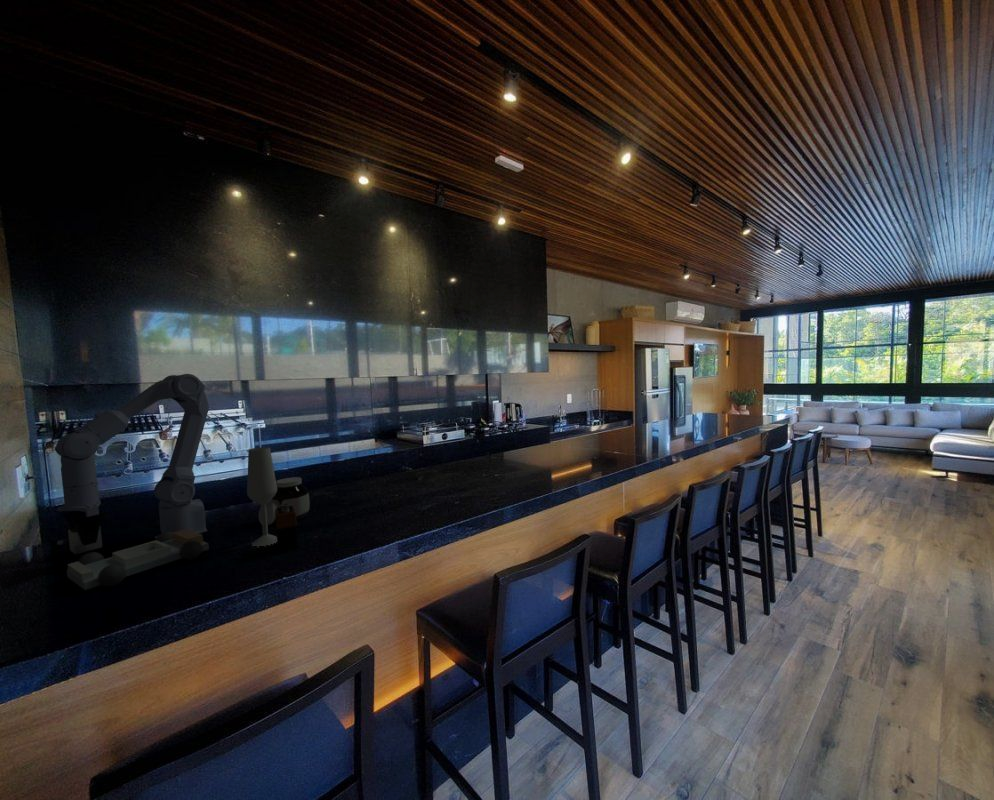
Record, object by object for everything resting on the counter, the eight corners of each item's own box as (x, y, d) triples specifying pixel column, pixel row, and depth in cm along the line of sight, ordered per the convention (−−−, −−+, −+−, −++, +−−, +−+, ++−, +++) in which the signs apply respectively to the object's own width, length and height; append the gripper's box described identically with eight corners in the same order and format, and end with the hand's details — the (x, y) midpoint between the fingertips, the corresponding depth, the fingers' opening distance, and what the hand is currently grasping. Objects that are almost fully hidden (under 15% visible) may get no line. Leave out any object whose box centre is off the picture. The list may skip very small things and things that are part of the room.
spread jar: (314, 514, 127) (311, 476, 126) (292, 527, 116) (289, 486, 115) (277, 514, 128) (275, 477, 127) (252, 527, 117) (249, 486, 116)
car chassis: (184, 541, 108) (183, 526, 108) (212, 552, 100) (211, 536, 99) (65, 577, 89) (63, 559, 89) (87, 594, 81) (85, 574, 81)
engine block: (96, 543, 100) (93, 520, 99) (102, 547, 97) (100, 523, 97) (70, 550, 96) (67, 526, 96) (75, 554, 94) (73, 529, 93)
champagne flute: (253, 539, 107) (247, 448, 106) (282, 535, 110) (276, 445, 108) (248, 549, 101) (240, 452, 100) (278, 544, 103) (272, 449, 102)
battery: (296, 539, 106) (293, 501, 105) (298, 548, 100) (295, 508, 99) (277, 543, 104) (274, 504, 103) (278, 552, 98) (275, 511, 97)
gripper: (47, 485, 96) (53, 542, 97) (65, 492, 89) (71, 554, 89) (88, 478, 102) (93, 532, 103) (108, 484, 95) (114, 542, 95)
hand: (86, 541), depth 97 cm, fingers closed on engine block, 4 cm apart
